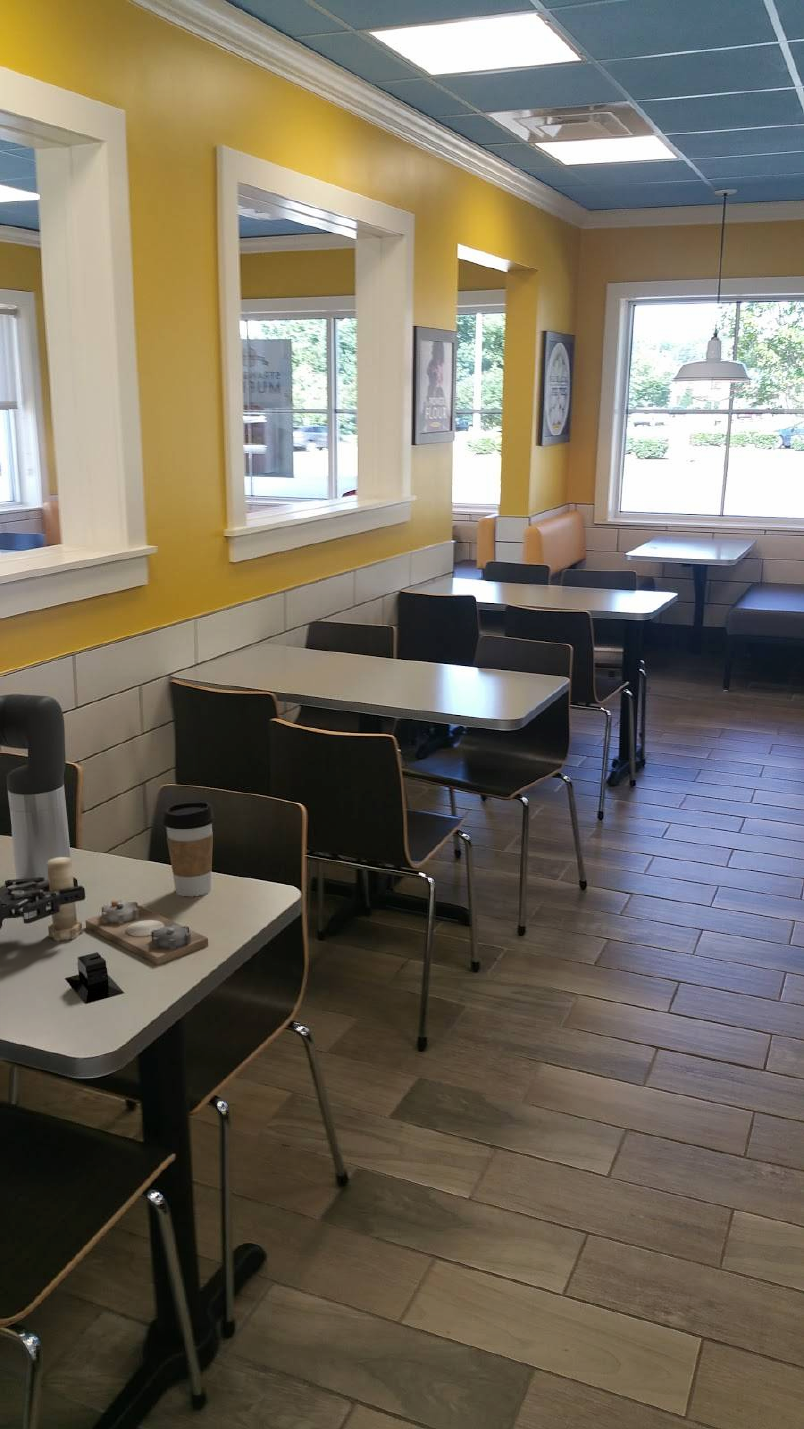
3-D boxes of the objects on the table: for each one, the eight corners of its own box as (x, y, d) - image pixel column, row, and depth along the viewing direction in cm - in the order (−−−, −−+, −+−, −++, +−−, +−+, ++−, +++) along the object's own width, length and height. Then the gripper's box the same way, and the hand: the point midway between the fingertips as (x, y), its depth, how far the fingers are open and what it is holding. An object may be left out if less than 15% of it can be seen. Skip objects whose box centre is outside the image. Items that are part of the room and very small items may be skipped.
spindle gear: (44, 934, 178) (37, 861, 175) (71, 925, 181) (64, 853, 178) (60, 943, 175) (53, 869, 172) (87, 933, 178) (81, 861, 175)
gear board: (85, 927, 180) (84, 907, 180) (135, 910, 187) (133, 891, 186) (157, 964, 167) (156, 943, 166) (208, 945, 173) (207, 925, 172)
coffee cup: (208, 901, 190) (202, 815, 186) (160, 898, 191) (154, 812, 188) (225, 882, 198) (220, 799, 194) (179, 880, 199) (174, 797, 196)
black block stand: (133, 999, 158) (131, 968, 157) (81, 1013, 154) (78, 982, 153) (104, 966, 168) (101, 937, 167) (54, 979, 164) (51, 950, 163)
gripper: (-29, 904, 162) (91, 879, 171) (-47, 873, 174) (66, 852, 183) (-24, 952, 164) (95, 926, 173) (-42, 919, 176) (70, 895, 185)
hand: (80, 888), depth 178 cm, fingers closed on spindle gear, 3 cm apart
